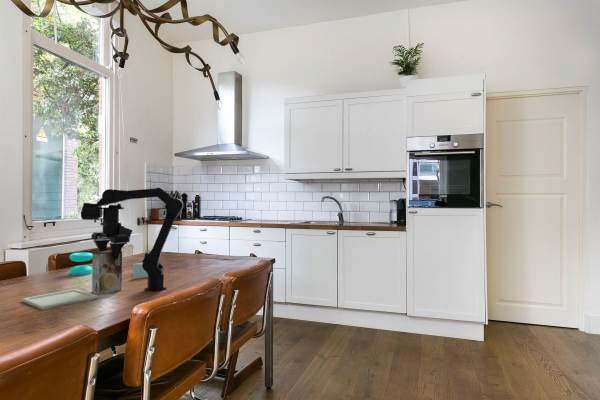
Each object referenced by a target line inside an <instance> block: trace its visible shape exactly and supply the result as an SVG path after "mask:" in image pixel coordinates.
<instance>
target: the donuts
mask: <svg viewBox="0 0 600 400" xmlns="http://www.w3.org/2000/svg"><path fill="white" fill-rule="evenodd" d="M69 259H70V261H72V262H78V263H79V262H89V261H90V260H91V261H92V260H93V252H92V253H91V252H74V253H73V252H72V253H71V254H70V255H69ZM68 273H69V274H70V275H72V276H85V275H90V274H92V266H90V265H75V266H73V267H70V269H69V270H68Z"/></svg>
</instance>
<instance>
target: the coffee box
mask: <svg viewBox="0 0 600 400" xmlns="http://www.w3.org/2000/svg"><path fill="white" fill-rule="evenodd" d="M92 254H93V258H92V259H91V261H92V266H91V267H92V273H91V284H92V286H91V292H92V293H93V294H96V295H97V294H98V295H103V294H108V293H113V292H118V291H120V292H121V291H122V290H123V289H122V288H123V285H122V284H123V282H122V281H123V280H122V279H123V278H122V277H123V275H122V274H123V271H122V270H123V269H122V268H123V266H122V265H123V251H122V250H121V251H120V254H119V257H118V259H117V260H114V258H113V254H112V250H106V251H100V252H99V251H92Z"/></svg>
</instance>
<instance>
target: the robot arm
mask: <svg viewBox="0 0 600 400" xmlns="http://www.w3.org/2000/svg"><path fill="white" fill-rule="evenodd" d="M148 198H158V199H159V200H161V201H162V202H163V203H164V204H166V205H167V206H166V207H167V208H166V213H165V218H164V221H163V222H162V226H161V228H160V230H159V232H158V235H157V237H156V240H155V242H154V244H153V246H152V249H151V250H150V251H149V250H147V251H146V252H145V254H144V258H143V259H142V260H141V263H143V264H142V267H143V269H144V270H145V271H146V272H147V274H148V277H147V287H144V288H143V289H144V290H146V291H150V292H157V291H162V290H166V289H167V287H166V286H164V280H165V279H164V277H165V275H164V271H165V267H164V266H163V265H162V264H161V263H160V262H161V257H162V252H163V249H164V247H165V244H166V242H167V240H168V237H169V234H170V232H171V230H172V228H173V225H174V224H175V220H176V219H177V217H179V215H180V213H181V212H182V210H183V208H184V201H182V200H181V199H180V198H175V197H174V196H172V195H171V194H170V193H168V192H167V191H166V190H165V189H164V188H162V187H156V188H146V189H133V190H123V189H111V188H110V189H108V188H107V189H105V190H104V191H103V192H102V194H101V198H100V199H99V200H98V201H97V202H96V203H92V202H91V203H90V202H83V204H82V207H81V210H80V218H81V220H82V221H86V220H87V221H99V220H100V219H101V218H102V222H100V223H99V225H100V226H102V231H101V232H100V231H99V232H98V231H97V232H93V233H92V234H91V236H90V237H91V240H92V241H93V242H94V244H95V246H96V248H97V250H98V252H100V251H108V250H107V247H108V244H109V245H110V249H111V250H112V254H113V258H114V260H117V259H118V257H119V254H120V251H122V249H123V247H124V246H125V245H127V244H128V243H130V239H131V235H132V233H133V229H130V228H127V227H125V226H124V225H122V222H119V221H120V220H119V213H120V210H125V206H123V205H122V204H121V203H120V202H125V201H128V200H135V199H136V200H137V199H148ZM104 206H105V207H104ZM106 206H107V207H106ZM111 250H110V251H111Z"/></svg>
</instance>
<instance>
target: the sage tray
mask: <svg viewBox="0 0 600 400" xmlns="http://www.w3.org/2000/svg"><path fill="white" fill-rule="evenodd" d="M97 299H98V295H97V294H95V293H90V292H87V291H84V290H81V289H79V288H78V289H77V288H74V289H73V288H72V289H67V290H60V291H57V292H51V293H45V294H40V295H34V296H28V297H22V302H23V303H25V304H28V305H30V306H32V307H35V308H36V309H40V310H41V311H44V310H49V309H53V308H57V307H63V306H68V305H73V304H79V303H82V302H87V301H92V300H97Z"/></svg>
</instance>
